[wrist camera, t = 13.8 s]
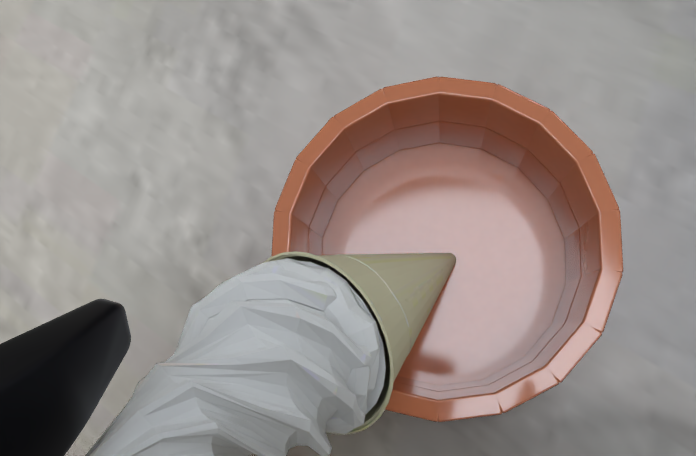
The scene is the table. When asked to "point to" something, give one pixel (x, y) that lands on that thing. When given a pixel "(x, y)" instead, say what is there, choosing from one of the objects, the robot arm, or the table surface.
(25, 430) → the robot arm
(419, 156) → the bowl
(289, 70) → the table surface
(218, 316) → the ice cream cone
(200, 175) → the table surface
